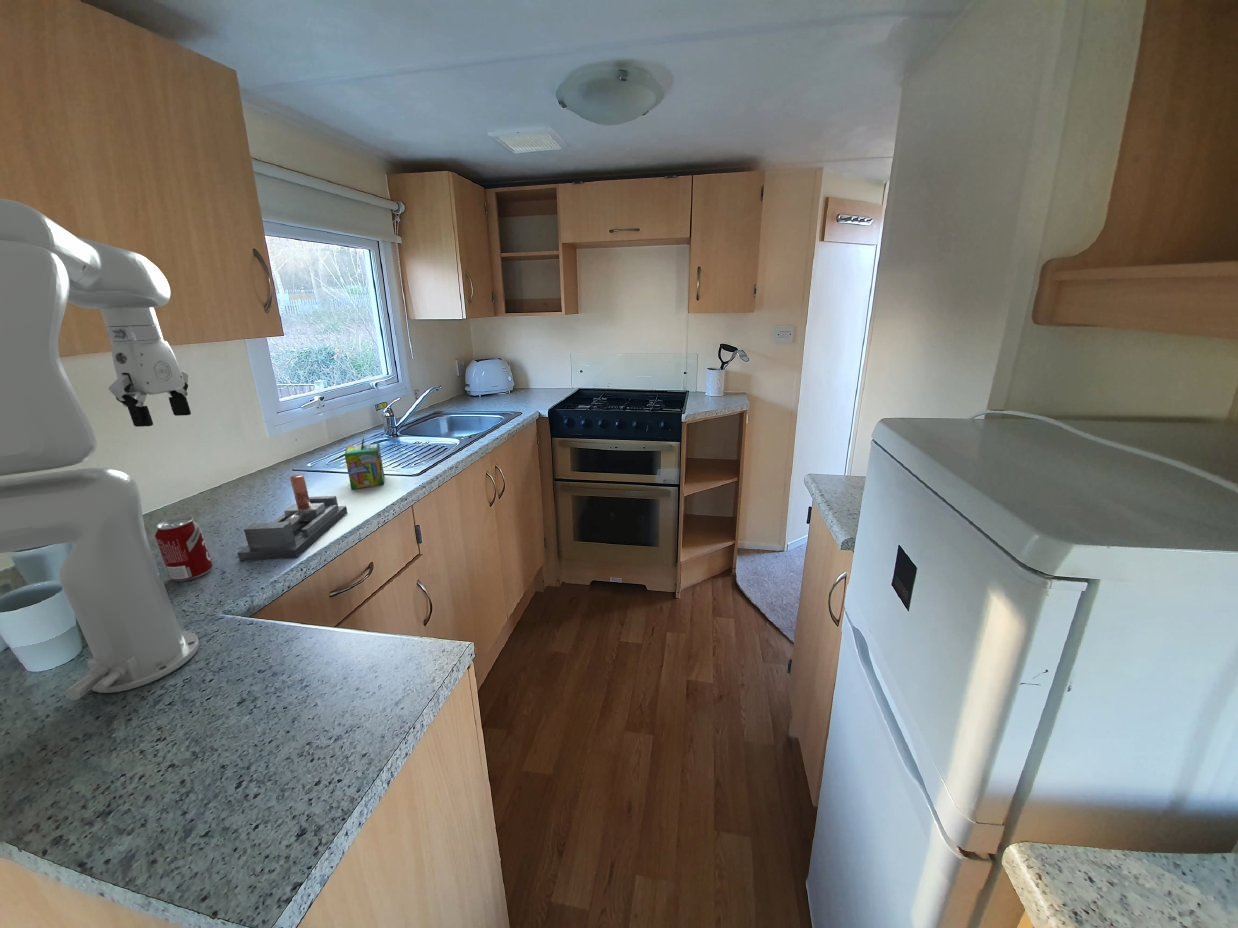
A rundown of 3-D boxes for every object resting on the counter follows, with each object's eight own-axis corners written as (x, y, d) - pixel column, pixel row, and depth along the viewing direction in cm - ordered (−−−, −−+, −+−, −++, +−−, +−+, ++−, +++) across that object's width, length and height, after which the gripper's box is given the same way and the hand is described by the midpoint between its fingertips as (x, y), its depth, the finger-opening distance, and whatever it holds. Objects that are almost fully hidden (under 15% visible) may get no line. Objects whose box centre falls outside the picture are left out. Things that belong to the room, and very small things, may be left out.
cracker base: (296, 558, 105) (289, 529, 103) (239, 560, 105) (230, 531, 102) (347, 512, 128) (342, 488, 126) (300, 514, 127) (294, 490, 125)
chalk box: (353, 480, 152) (344, 435, 147) (385, 476, 155) (377, 431, 151) (350, 490, 144) (340, 442, 139) (384, 485, 147) (375, 439, 142)
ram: (304, 531, 113) (293, 487, 109) (271, 533, 112) (259, 489, 109) (326, 513, 122) (316, 473, 119) (296, 515, 122) (285, 474, 118)
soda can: (189, 585, 96) (170, 531, 92) (162, 582, 97) (142, 528, 93) (222, 567, 102) (205, 516, 98) (196, 565, 103) (179, 514, 100)
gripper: (116, 338, 87) (147, 430, 92) (190, 332, 103) (213, 411, 108) (71, 339, 86) (106, 431, 92) (153, 333, 102) (178, 412, 108)
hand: (164, 420), depth 100 cm, fingers open, 9 cm apart
